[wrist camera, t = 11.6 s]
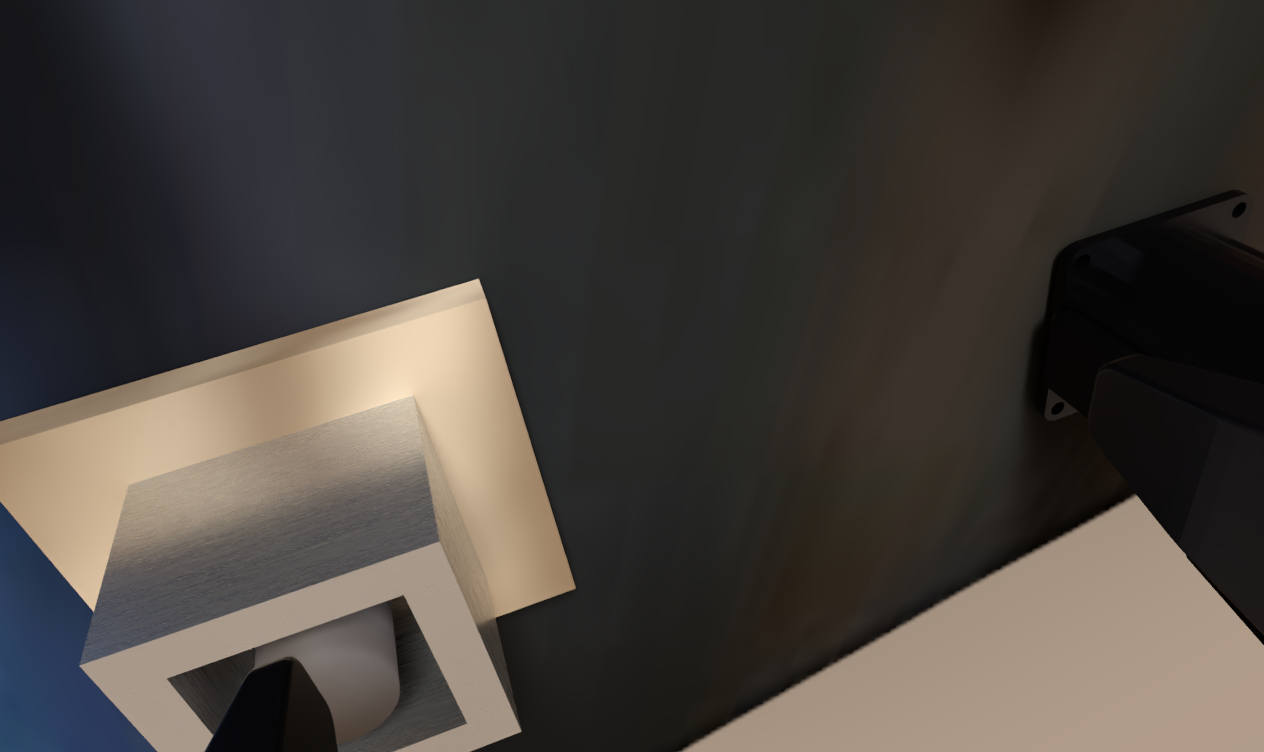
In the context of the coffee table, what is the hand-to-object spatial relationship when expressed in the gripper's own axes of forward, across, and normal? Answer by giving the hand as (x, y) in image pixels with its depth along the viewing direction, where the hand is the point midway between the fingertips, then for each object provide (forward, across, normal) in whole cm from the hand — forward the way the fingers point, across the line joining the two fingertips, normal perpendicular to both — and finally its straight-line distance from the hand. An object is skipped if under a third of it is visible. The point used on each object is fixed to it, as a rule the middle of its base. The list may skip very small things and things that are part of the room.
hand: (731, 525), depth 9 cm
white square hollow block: (+11, +7, +8) cm, 15 cm away
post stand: (+12, +7, +8) cm, 16 cm away
